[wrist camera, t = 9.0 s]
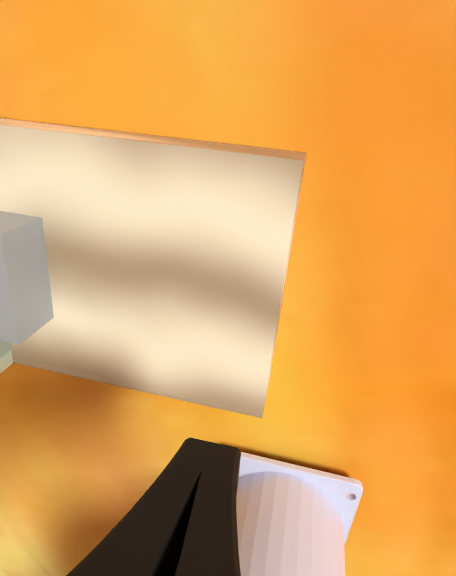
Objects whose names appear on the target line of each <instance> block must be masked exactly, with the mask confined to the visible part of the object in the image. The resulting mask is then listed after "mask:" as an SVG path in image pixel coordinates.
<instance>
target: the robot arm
mask: <svg viewBox="0 0 456 576" xmlns="http://www.w3.org/2000/svg"><path fill="white" fill-rule="evenodd" d="M349 493H353V494H349ZM362 493H363V487H362V483H361V482H360V481H359V480H356V479H353V478H349V477H345V476H340V475H336V474H332V473H328V472H324V471H320V470H315V469H311V468H307V467H303V466H299V465H294V464H290V463H286V462H282V461H278V460H273V459H269V458H265V457H261V456H257V455H253V454H248V453H244V452H240V451H239V449H238V448H235V447H230V446H226V445H221V444H217V443H212V442H208V441H203V440H199V439H194V438H188V439H186V440H185V441H184V443H183V444H182V446H181V447H180V449H179V450H178V452H177V453H176V454H175V456H174V457H173V458H172V460H171V461H170V463H169V464H168V465H167V466H166V468H165V469H164V470H163V472H162V473H161V474H160V475H159V477H158V478H157V479H156V480H155V482H154V483H153V484H152V485H151V487H150V488H149V489H148V490H147V491H146V492H145V494H144V495H143V496H142V497H141V498H140V499H139V501H138V502H137V503H136V504H135V505H134V506H133V508H132V509H131V510H130V511H129V512H128V513H127V514H126V516H125V517H124V518H123V519H122V520H121V521H120V522H119V523H118V524H117V525H116V526H115V527H114V528H113V529H112V530H111V532H110V533H109V534H108V535H107V536H106V537H105V538H104V539H103V540H102V541H101V542H100V543H99V544H98V545H97V546H96V547H95V548H94V549H93V550H92V551H91V552H90V553H89V554H88V555H87V556H86V557H85V558H84V559H83V560H82V561H81V562H80V563H79V564H78V565H77V566H76V567H75V568H74V569H73V570H72V571H71V572H70V573H69V574H68V575H66V576H346V574H345V552H344V545H345V542H346V539H347V536H348V533H349V530H350V527H351V524H352V522H353V519H354V516H355V513H356V510H357V507H358V504H359V501H360V498H361V496H362Z"/></svg>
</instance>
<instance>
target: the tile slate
mask: <svg viewBox="0 0 456 576" xmlns="http://www.w3.org/2000/svg"><path fill="white" fill-rule="evenodd" d="M52 318H54V314H53V305H52V297H51V288H50V280H49V271H48V262H47V254H46V245H45V237H44V228H43V220H42V218H41V217H35V216H29V215H23V214H17V213H10V212H4V211H0V341H3V342H8V343H12V344H17V345H20V344H21V343H22V342H23V341H25V340H26V339H27V338H28V337H30V336H31V335H32V334H34V333H35V332H36V331H37V330H39V329H40V328H41V327H42V326H44V325H45V324H46V323H47V322H49V321H50V320H51V319H52Z"/></svg>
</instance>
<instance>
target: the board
mask: <svg viewBox="0 0 456 576" xmlns="http://www.w3.org/2000/svg"><path fill="white" fill-rule="evenodd" d="M305 158H306V153H304V152H296V151H287V150H278V149H269V148H261V147H252V146H243V145H234V144H226V143H217V142H208V141H199V140H191V139H182V138H173V137H165V136H156V135H147V134H138V133H130V132H121V131H112V130H103V129H95V128H86V127H77V126H69V125H60V124H51V123H42V122H34V121H25V120H16V119H1V120H0V211H4V212H10V213H17V214H23V215H29V216H35V217H41V218H42V220H43V228H44V237H45V245H46V254H47V262H48V271H49V280H50V288H51V297H52V305H53V314H54V318H52V319H51V320H50V321H49V322H47V323H46V324H45V325H44V326H42V327H41V328H40V329H39V330H37V331H36V332H35V333H34V334H32V335H31V336H30V337H28V338H27V339H26V340H25V341H23V342H22V343H21V344H20V345H17V344H12V343H10V347H11V352H12V358H13V363H17V364H22V365H26V366H31V367H35V368H40V369H44V370H48V371H53V372H57V373H62V374H66V375H71V376H75V377H80V378H84V379H89V380H93V381H98V382H102V383H107V384H111V385H116V386H120V387H125V388H129V389H134V390H138V391H143V392H147V393H151V394H156V395H160V396H165V397H169V398H174V399H178V400H183V401H187V402H192V403H196V404H201V405H205V406H210V407H214V408H219V409H223V410H228V411H232V412H237V413H241V414H246V415H250V416H255V417H259V418H262V415H263V410H264V405H265V399H266V394H267V389H268V384H269V378H270V372H271V366H272V360H273V354H274V347H275V341H276V335H277V329H278V323H279V317H280V311H281V305H282V298H283V292H284V286H285V280H286V274H287V268H288V262H289V256H290V250H291V243H292V237H293V231H294V225H295V219H296V213H297V207H298V201H299V194H300V188H301V182H302V176H303V170H304V164H305Z"/></svg>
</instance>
